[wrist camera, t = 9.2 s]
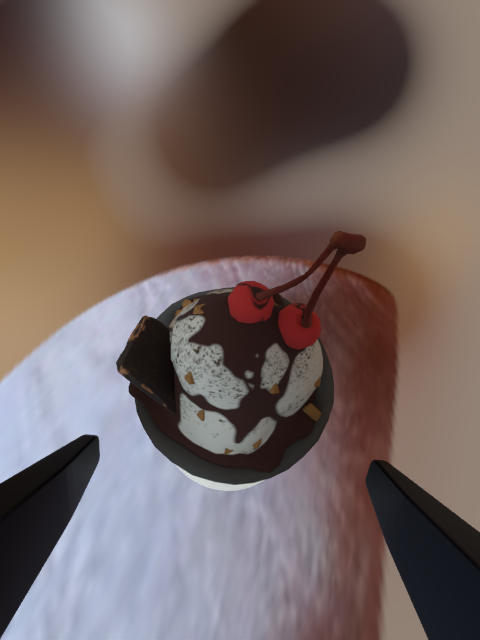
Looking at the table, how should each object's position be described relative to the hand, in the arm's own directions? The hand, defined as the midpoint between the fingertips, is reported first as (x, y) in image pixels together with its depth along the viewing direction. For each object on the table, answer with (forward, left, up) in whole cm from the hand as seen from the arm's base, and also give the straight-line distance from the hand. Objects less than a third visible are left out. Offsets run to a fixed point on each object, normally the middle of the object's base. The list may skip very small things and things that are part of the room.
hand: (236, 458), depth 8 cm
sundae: (+3, -1, -9) cm, 9 cm away
